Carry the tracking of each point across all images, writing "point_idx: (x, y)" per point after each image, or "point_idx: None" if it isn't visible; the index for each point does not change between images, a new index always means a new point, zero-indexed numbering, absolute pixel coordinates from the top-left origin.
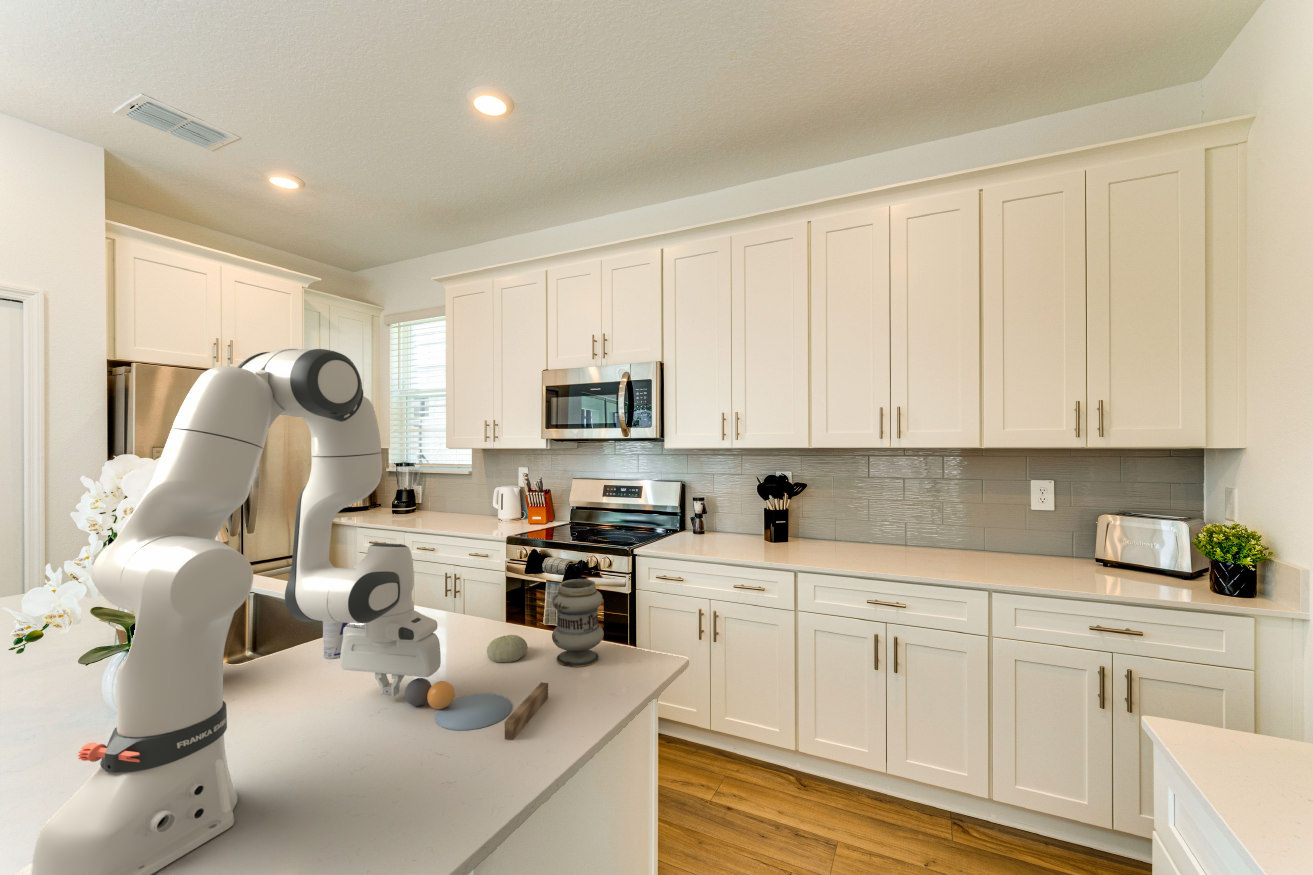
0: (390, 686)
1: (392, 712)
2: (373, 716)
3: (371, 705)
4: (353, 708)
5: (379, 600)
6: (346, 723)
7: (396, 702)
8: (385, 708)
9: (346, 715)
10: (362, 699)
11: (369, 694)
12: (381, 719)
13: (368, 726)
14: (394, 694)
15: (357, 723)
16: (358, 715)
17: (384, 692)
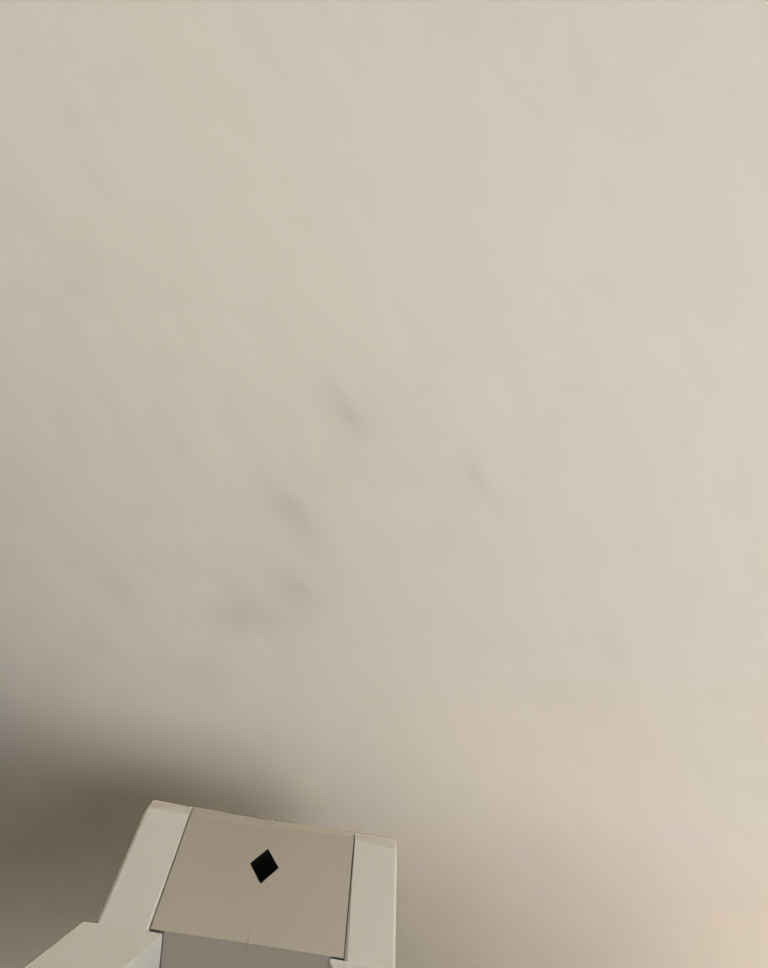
0: (194, 957)
1: (80, 499)
2: (298, 376)
3: (503, 686)
4: (729, 609)
5: None
6: (638, 125)
7: (201, 755)
8: (255, 608)
9: (752, 404)
10: (705, 828)
11: (667, 933)
12: (110, 280)
13: (183, 16)
14: (146, 817)
15: (441, 129)
16: (556, 406)
17: (322, 854)
